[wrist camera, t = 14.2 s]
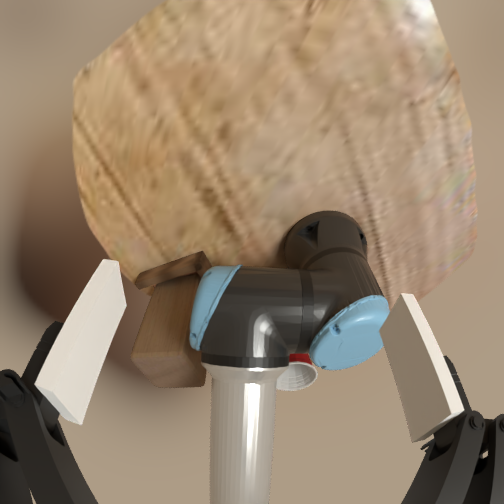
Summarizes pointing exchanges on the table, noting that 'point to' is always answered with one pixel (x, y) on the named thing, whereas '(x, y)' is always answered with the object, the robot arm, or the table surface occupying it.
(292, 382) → the plastic cup
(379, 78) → the table surface
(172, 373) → the block
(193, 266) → the arena
